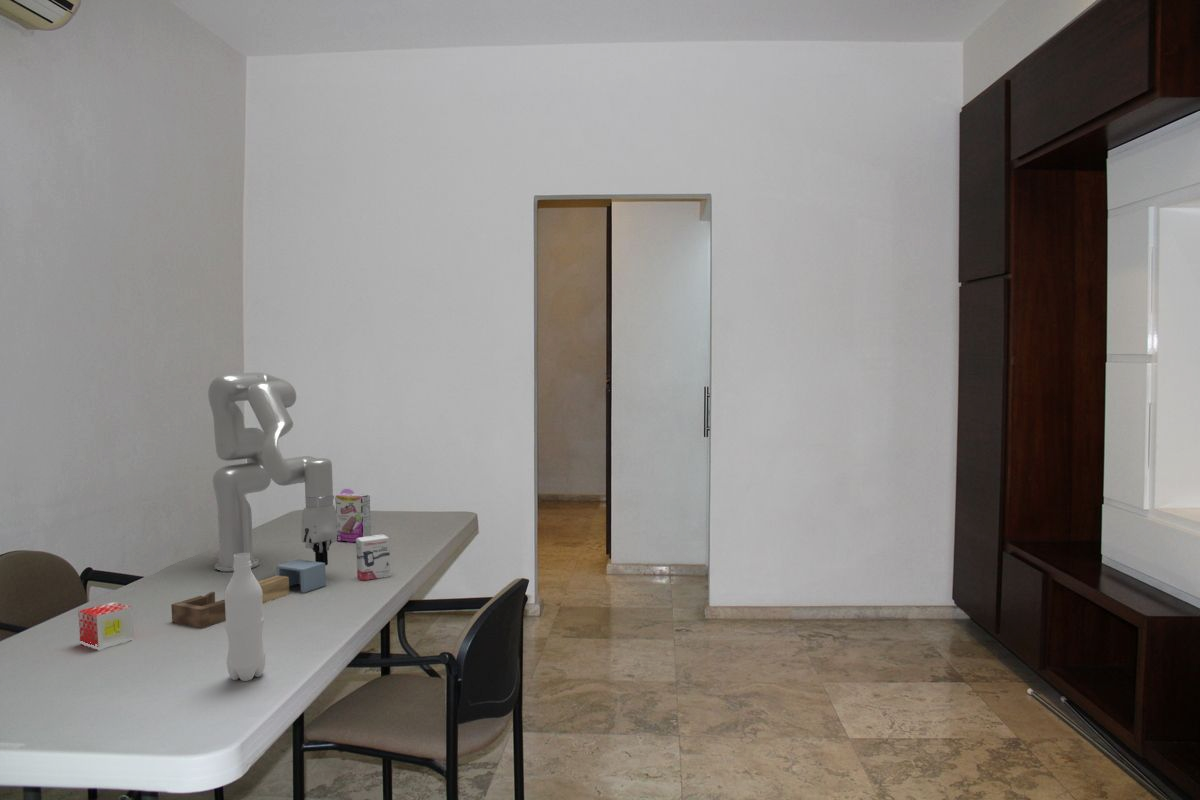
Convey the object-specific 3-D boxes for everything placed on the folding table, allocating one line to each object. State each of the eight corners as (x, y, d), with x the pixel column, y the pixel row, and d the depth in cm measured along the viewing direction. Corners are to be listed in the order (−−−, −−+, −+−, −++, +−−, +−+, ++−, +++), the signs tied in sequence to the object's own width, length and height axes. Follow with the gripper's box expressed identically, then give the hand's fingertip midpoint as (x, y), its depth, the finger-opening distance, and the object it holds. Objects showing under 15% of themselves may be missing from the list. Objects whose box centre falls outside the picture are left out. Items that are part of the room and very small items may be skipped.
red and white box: (98, 651, 189) (96, 616, 188) (80, 645, 193) (78, 611, 193) (134, 640, 196) (132, 606, 195) (115, 635, 200) (114, 601, 199)
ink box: (362, 581, 243) (360, 540, 243) (356, 577, 247) (355, 537, 247) (391, 576, 248) (389, 536, 247) (385, 573, 252) (384, 533, 251)
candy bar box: (335, 542, 296) (334, 495, 295) (344, 539, 300) (343, 493, 299) (363, 543, 292) (361, 496, 291) (371, 540, 297) (370, 494, 296)
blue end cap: (276, 588, 236) (276, 565, 236) (299, 581, 244) (298, 559, 243) (304, 592, 232) (303, 569, 231) (326, 585, 239) (325, 562, 238)
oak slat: (231, 609, 219) (230, 590, 218) (278, 593, 233) (277, 575, 233) (242, 611, 217) (241, 592, 217) (289, 594, 232) (288, 576, 231)
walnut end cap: (170, 622, 208) (169, 604, 208) (213, 608, 219) (212, 591, 219) (203, 628, 203) (203, 610, 203) (245, 614, 214) (244, 596, 213)
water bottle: (234, 671, 175) (229, 551, 174) (270, 669, 176) (265, 549, 174) (222, 684, 168) (216, 559, 167) (259, 682, 168) (254, 558, 167)
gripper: (328, 497, 251) (331, 558, 253) (289, 505, 238) (292, 570, 239) (348, 498, 248) (350, 560, 249) (309, 507, 235) (311, 572, 236)
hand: (321, 565), depth 244 cm, fingers closed
